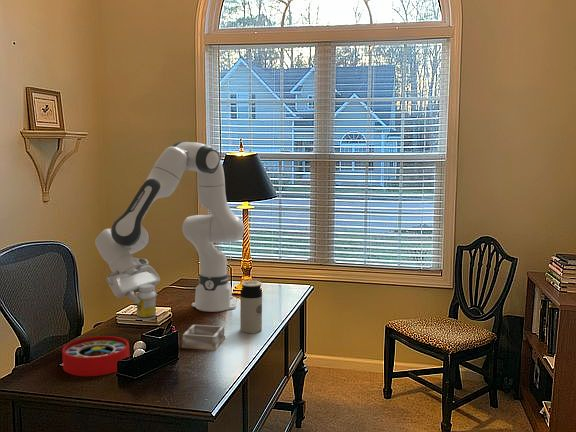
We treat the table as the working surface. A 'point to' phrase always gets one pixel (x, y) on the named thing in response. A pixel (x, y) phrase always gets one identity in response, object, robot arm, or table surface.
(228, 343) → the table surface
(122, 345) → the toy clock
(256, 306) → the travel mug
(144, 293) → the pill bottle
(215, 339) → the grey square tray
